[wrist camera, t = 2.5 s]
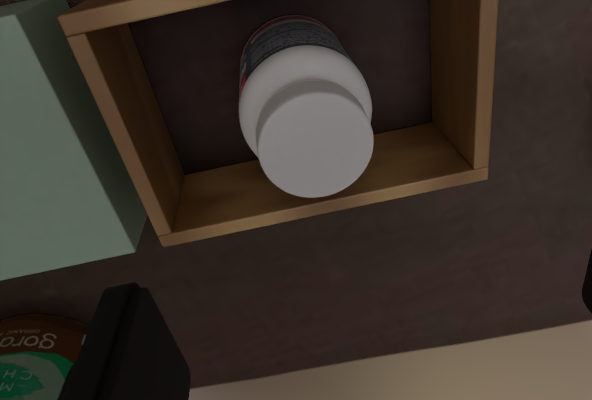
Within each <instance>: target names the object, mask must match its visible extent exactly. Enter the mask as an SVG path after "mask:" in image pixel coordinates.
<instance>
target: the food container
mask: <svg viewBox="0 0 592 400" xmlns="http://www.w3.org/2000/svg"><path fill="white" fill-rule="evenodd" d="M88 330H89V327H88V326H86V325H83V324H81V323H79V322H76V321H74V320H71V319H68V318H63V317H58V316H52V315H47V314H26V315H19V316H14V317H11V318H7V319H4V320H2V321H0V400H57V399H58V397H59V394H60V391H61V389H62V386H63V384H64V381H65V379H66V376H67V374H68V372H69V370H70V368H71V366H72V365H73V364H74V363H75V362H76V360H77V358H78V355H79V353H80V350H81V348H82V345H83V343H84V340H85V337H86V335H87V332H88Z"/></svg>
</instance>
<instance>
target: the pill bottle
mask: <svg viewBox="0 0 592 400" xmlns="http://www.w3.org/2000/svg"><path fill="white" fill-rule="evenodd" d="M371 118H372V102H371V97H370V93H369V90H368V87H367V85H366V82H365V80H364V78H363V76H362V74H361V72H360V71H359V69H358V68H357V66H356V65H355V64H354V62H353V61H352V60H351V58H350V57H349V55H348V54H347V53H346V51H345V50H344V48H343V46H342V45H341V43H340V41H339V40H338V38H337V37H336V36H335V34H334V33H333V32H332V31H331V30H330V29H329V28H328V27H327V26H325V25H324V24H322V23H321V22H319V21H317V20H315V19H313V18H310V17H307V16H302V15H286V16H281V17H277V18H275V19H272V20H270V21H268V22H267V23H265V24H263V25H262V26H261V27H260V28H258V29H257V30H256V31H255V32H254V33H253V35H252V36H251V37H250V39H249V40H248V42H247V43H246V45H245V47H244V50H243V52H242V56H241V61H240V85H239V120H240V126H241V130H242V133H243V135H244V138H245V140H246V142H247V144H248V145H249V147H250V148H251V150H252V151H253V152H254V153H255V155H256V156H257V157H258V158H259V161H260V165H261V167H262V169H263V171H264V172H265V174H266V176H267V177H268V178H269V179H270V180H271V182H272V183H274V184H275V185H276V186H277V187H279V188H280V189H282V190H283V191H285V192H287V193H290V194H293V195H296V196H300V197H307V198H317V197H324V196H328V195H332V194H335V193H337V192H339V191H341V190H343V189H345V188H347V187H348V186H350V185H351V184H352V183H353V182H355V181H356V180H357V179H358V178H359V177H360V175H361V174H362V173H363V172H364V170H365V168H366V167H367V165H368V163H369V161H370V158H371V156H372V152H373V145H374V138H373V130H372V127H371V124H370V123H371Z"/></svg>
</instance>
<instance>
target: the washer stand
mask: <svg viewBox="0 0 592 400" xmlns="http://www.w3.org/2000/svg"><path fill="white" fill-rule="evenodd" d="M69 9H70V7H69V5H68V3H67V0H26V1H21V2H17V3H12V4H8V5H3V6H0V281H1V280H6V279H10V278H15V277H20V276H25V275H29V274H34V273H39V272H44V271H48V270H53V269H58V268H63V267H67V266H72V265H77V264H82V263H86V262H91V261H96V260H101V259H105V258H110V257H115V256H120V255H125V254H129V253H134V252H136V249H137V245H138V242H139V239H140V236H141V233H142V230H143V227H144V224H145V220H146V217H147V212H146V210H145V208H144V205H143V203H142V201H141V199H140V197H139V195H138V192H137V190H136V188H135V186H134V184H133V182H132V179H131V177H130V175H129V173H128V171H127V169H126V166H125V164H124V162H123V160H122V158H121V155H120V153H119V151H118V149H117V147H116V145H115V142H114V140H113V138H112V136H111V134H110V132H109V129H108V127H107V125H106V123H105V121H104V118H103V116H102V114H101V112H100V110H99V108H98V105H97V103H96V101H95V99H94V97H93V95H92V92H91V90H90V88H89V86H88V84H87V82H86V79H85V77H84V75H83V73H82V71H81V68H80V66H79V64H78V62H77V60H76V58H75V55H74V53H73V51H72V49H71V47H70V45H69V42H68V40H67V37H68V36H66V35H65V33H64V31H63V29H62V27H61V25H60V22H59V20H58V16H59V15H61V14H62V13H64V12H66V11H68V10H69Z"/></svg>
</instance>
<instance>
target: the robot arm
mask: <svg viewBox="0 0 592 400" xmlns="http://www.w3.org/2000/svg"><path fill="white" fill-rule="evenodd" d="M582 297H583V301H584V303H585V305H586V307H587V308H588V309H589V311H590V312H591V313H592V250H591V254H590V259H589V263H588V267H587V271H586V276H585V280H584V284H583V288H582ZM190 382H191V378H190V371H189V367H188V365H187V363H186V361H185V359H184V357H183V355H182V353H181V351H180V349H179V347H178V345H177V344H176V342H175V340H174V338H173V336H172V334H171V332H170V330H169V328H168V326H167V324H166V322H165V320H164V318H163V316H162V315H161V313H160V311H159V309H158V307H157V305H156V303H155V301H154V299H153V297H152V295H151V293H150V292H149V290H148V289H147V288H140V287H139V285H138V284H136V283H129V284H124V285H119V286H114V287H109V288H107V289H105V290H104V292H103V294H102V296H101V299H100V301H99V304H98V307H97V309H96V312H95V314H94V317H93V319H92V322H91V325H90V327H89V330H88V332H87V335H86V337H85V340H84V343H83V345H82V348H81V350H80V353H79V355H78V358H77V360H76V362H75V363H74V364H73V365H72V366H71V368H70V370H69V372H68V374H67V376H66V379H65V381H64V384H63V386H62V389H61V391H60V394H59V397H58V399H57V400H188V398H189V391H190Z"/></svg>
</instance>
